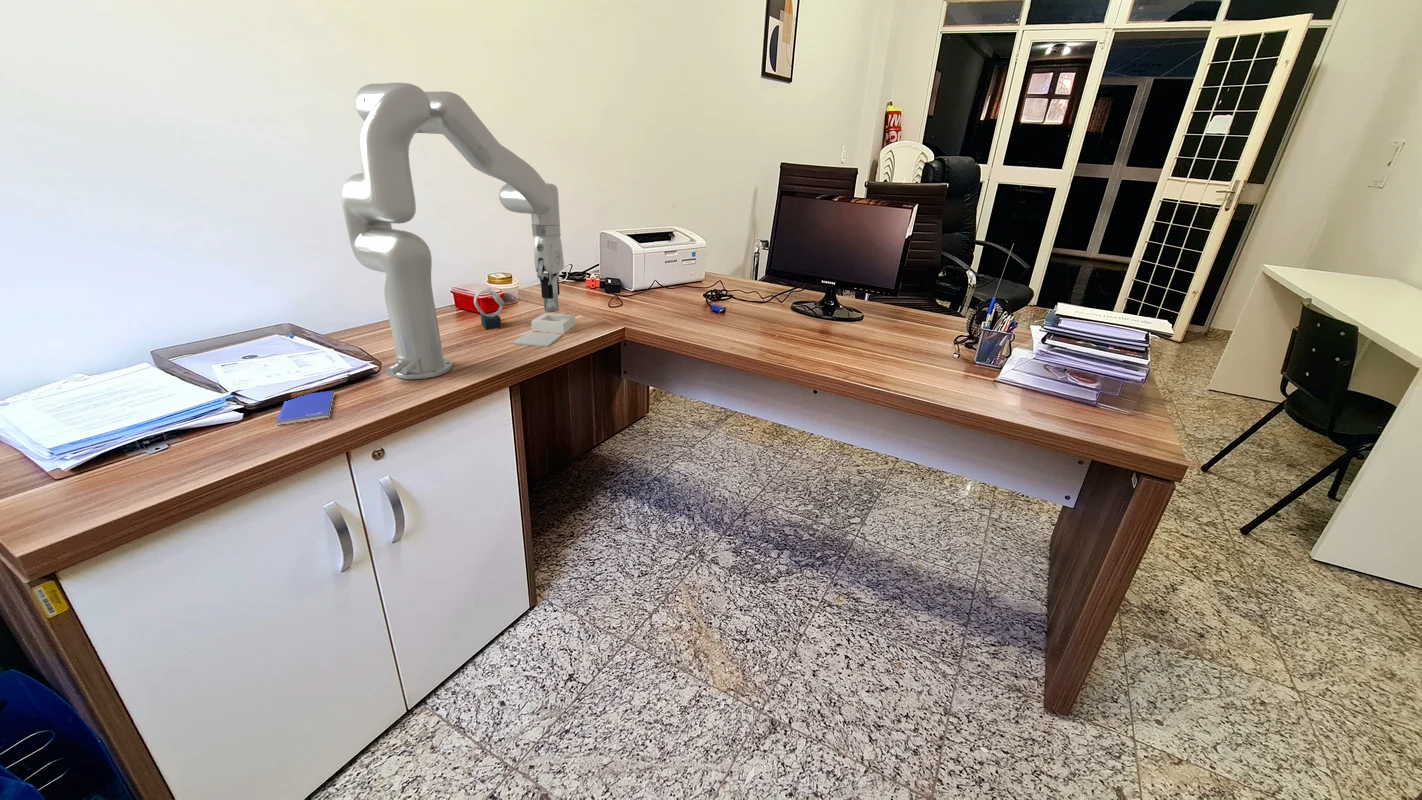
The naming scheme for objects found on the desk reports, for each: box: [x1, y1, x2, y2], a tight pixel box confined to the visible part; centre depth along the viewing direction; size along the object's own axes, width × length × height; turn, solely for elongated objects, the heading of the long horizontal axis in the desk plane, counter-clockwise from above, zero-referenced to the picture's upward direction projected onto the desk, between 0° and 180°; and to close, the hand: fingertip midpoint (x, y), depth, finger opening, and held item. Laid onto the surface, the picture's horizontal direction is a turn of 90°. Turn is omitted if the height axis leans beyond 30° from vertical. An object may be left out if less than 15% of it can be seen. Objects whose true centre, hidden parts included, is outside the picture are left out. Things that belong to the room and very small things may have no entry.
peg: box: [543, 275, 560, 313], centre depth 160 cm, size 4×4×10 cm
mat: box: [511, 331, 562, 348], centre depth 153 cm, size 10×10×1 cm
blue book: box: [275, 390, 335, 426], centre depth 109 cm, size 2×8×12 cm
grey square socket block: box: [530, 312, 576, 335], centre depth 164 cm, size 10×10×3 cm
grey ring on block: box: [473, 288, 505, 330], centre depth 161 cm, size 6×8×11 cm
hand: (550, 295), depth 160 cm, fingers closed on peg, 4 cm apart
